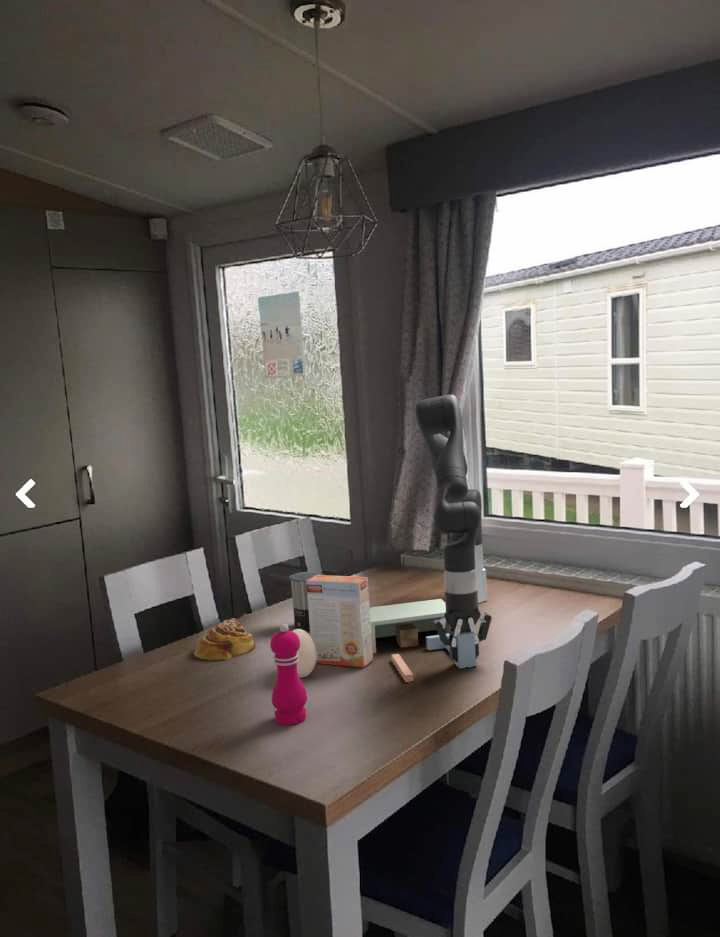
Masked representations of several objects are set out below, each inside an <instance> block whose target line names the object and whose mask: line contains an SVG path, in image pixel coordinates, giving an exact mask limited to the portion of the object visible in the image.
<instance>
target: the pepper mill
mask: <svg viewBox="0 0 720 937" xmlns="http://www.w3.org/2000/svg"><path fill="white" fill-rule="evenodd" d="M292 631H293V630H289V626H288V624H287V623H282V624H281V625H280V626H279V631H278V632H276V633H275V634H274V635H272V637H271V639H270V650H271V652H272V653H273V654H274V656H273V659H274V660H273V662H274V664H275V665H276V667H277V668H276V669H277V677H276V680H275V684H274V685H273V689H272V693H271V704H272V706H273V707H274V708H275V709H276V710H275V711H274V714H275V722H276V723H278V724H279V725H283V726H294V725H298V724H300V723H302V722H304V721H305V720H306V718H307V710H306V707H305V705H306V703H307V702H308V694H307V690H306V688H305V686H304V683H303V682H302V680H301V678H299V676H298V673H297V662H298V661H299V658H298V656H299V654H298V653H297V651H298V650H299V648H300V639H299V637H298V635H297V634H296V633H294V632H292Z"/></svg>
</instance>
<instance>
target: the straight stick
mask: <svg viewBox="0 0 720 937" xmlns="http://www.w3.org/2000/svg"><path fill="white" fill-rule="evenodd" d="M390 656H391V662H393V663H392V664H393V666H394V665H395V666H396V667H395V666H394V667H395V669H396V668H397V669H396V670H397V672H398V671H399V672H398V673H399V675H400V674H401V675H400V677H401V678H402V677H403V678H402V679H404V680H405V681H404V680H403V681H404V683H405V682H408V681H413V682H414V674H413V672H412V671H411V669H410V668H409V666H408V665H407V664H406V662H405V661H404V660H403V658H402V656H401V655H400V654H399V653H393V654H392V653H391V655H390ZM408 683H409V682H408Z"/></svg>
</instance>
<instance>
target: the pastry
mask: <svg viewBox="0 0 720 937" xmlns="http://www.w3.org/2000/svg"><path fill="white" fill-rule="evenodd" d="M254 649H256V644H255V641H254V639H253V635H252V634H251V633H249V632H247V631H246V629H245V627H244V626H243V625H242V624H241V623H240V622H239V620H237V619H236V618H230V619H225V620H224V621H222V622H220V623H218V624H217V626H214V627H213V628H211V629H210V630H208V631H207V632H206V633H205V634H204V635H203V636H202V637H201V639H200V641H199V643H198V644H197V646H196V648H195V650H194V653H193V656H194V655H195V656H196V657H199V658H198V659H200V658H202V659H201V660H203V659H208V660H207V661H227V660H226V659H228V660H230V659H232V658H233V656H235V657H239V655H240V656H244V655H245V654H246V653H247V654H249V653H251V652H252V651H254ZM243 654H244V655H243ZM195 656H194V657H195ZM196 657H195V658H196ZM231 657H232V658H231ZM229 658H230V659H229ZM221 659H222V660H221Z"/></svg>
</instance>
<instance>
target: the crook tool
mask: <svg viewBox="0 0 720 937" xmlns="http://www.w3.org/2000/svg"><path fill="white" fill-rule="evenodd" d="M449 635H450V634H446V636H447V638H448V639H449ZM425 643H426V647H425V648H426V649H427V650H428V651H433V650H434V651H435V650H440V649H446V650H447V651H448V653H450V648H449V645H447V646H446V645H444V643H442V642H441V640H440V637H439V635H438V634H435V635H429V636H425ZM456 646H457V652H458V662H454V661H453V663H454V664H455V665H456V667H457V668H458V667H459V668H458V669H460V668H461V669H466V667H468V668H474V667H473V666H475V667H477V662H476V660H477V659H476V655H475V635H474V633H471V631H463V632H460V634H459V635H457V645H456Z"/></svg>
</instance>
